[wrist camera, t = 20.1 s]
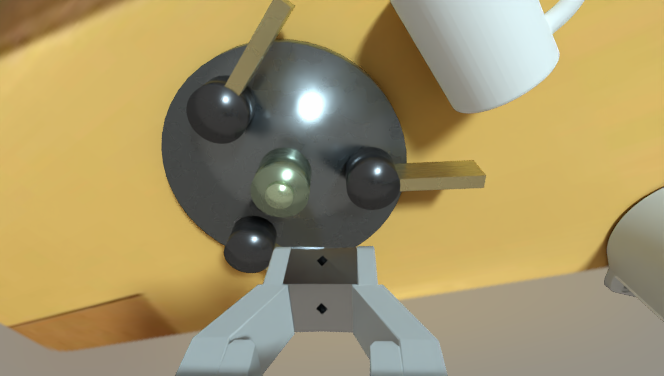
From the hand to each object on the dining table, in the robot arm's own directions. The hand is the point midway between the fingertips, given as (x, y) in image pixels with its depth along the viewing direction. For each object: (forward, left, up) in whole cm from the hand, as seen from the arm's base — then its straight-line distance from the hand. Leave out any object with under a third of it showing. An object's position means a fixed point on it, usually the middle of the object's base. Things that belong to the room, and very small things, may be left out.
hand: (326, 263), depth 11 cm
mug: (-8, -11, -24) cm, 27 cm away
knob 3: (-10, +3, -21) cm, 23 cm away
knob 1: (+7, +1, -21) cm, 22 cm away
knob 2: (-3, +18, -21) cm, 28 cm away
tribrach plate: (0, +9, -23) cm, 25 cm away
